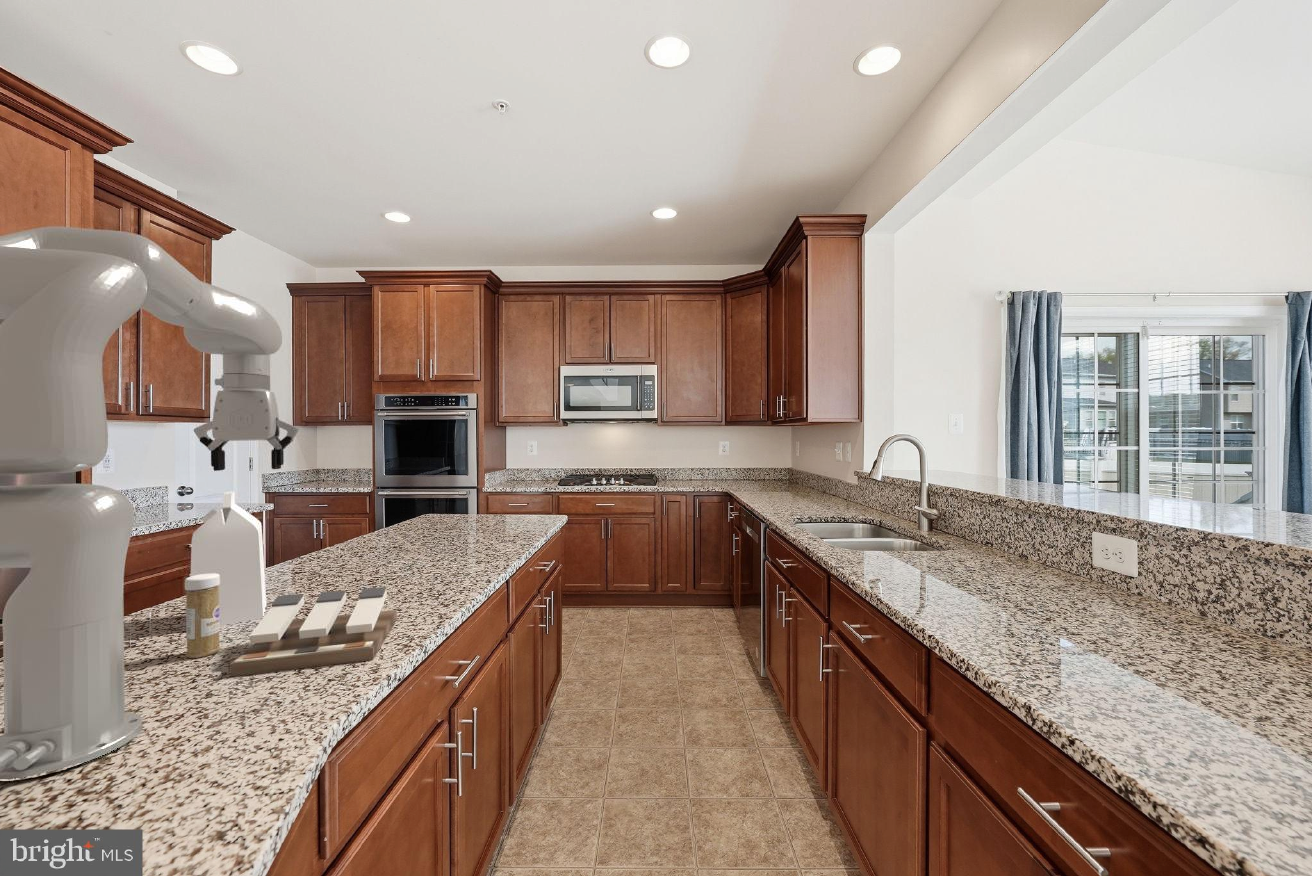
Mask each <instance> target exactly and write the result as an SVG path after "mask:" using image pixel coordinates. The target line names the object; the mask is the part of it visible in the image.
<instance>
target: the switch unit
mask: <svg viewBox="0 0 1312 876" xmlns="http://www.w3.org/2000/svg"><path fill="white" fill-rule="evenodd" d="M351 615H352V613H351V614H338V616H337V618H336V620H335V621H334V623H333V625H332V627H331V629H330V631H329V633H328V635H327V636H322V637H312V638H302V639H300V637H299V630H300V628H301V626H302V625H303V623H304V622H305V620H306V619H307V617H306V618H298V619H295V618H294V619H293V621H292V622H291V624H290V625H289V627H288V628H287V630H286V631H285V633H284V634H283V636H282V637H281V639H280V640H279V641H273V642H264V643H254V644H251V646H250V647H249V648H247V649H246V650H245V651H244V652H243V653H241V654H240V655H239V656H238V657H236V658H235V659H234V660H232V662H230V663H229V677H237V676H245V675H254V674H263V673H272V672H280V671H281V672H282V671H289V670H297V669H306V668H314V667H322V666H323V667H324V666H331V665H341V664H349V663H355V662H356V663H358V662H365V661H374V659H375V657H376V655H377V654H378V652H379V650H380V649H381V647H382V646H383V644H384V642H385V640H386V639H387V637H388V636H389V634H390V632H391V630H392V629H393V627H394V626H395V624H396V622H397V621H398V610H397V609H393V610H391V609H390V610H383V611H382V610H381V611H380V614H379V616H378V619H377V621H376V624H375V626H374V629H373V631H370V632H361V633H351V634H347V633H346V625H347V623H348V621H349V619H350V617H351Z"/></svg>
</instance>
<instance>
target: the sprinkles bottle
mask: <svg viewBox="0 0 1312 876" xmlns="http://www.w3.org/2000/svg"><path fill="white" fill-rule="evenodd" d="M219 584H220V575H219V574H216V573H209V574H200V575H195V576H191V575H190V576H189V577H186V578H185V579H184V590H185V592H186V593H185V595H186V599H185V600H186V604H185V605H186V606H185V629H186V630H185V632H186V633H185V636H186V637H185V638H186V654H185V657H187V658H189V659H196V658H205V657H208V656H211V655H214V654H216V653H217V652H219V651H220V650H221V645H220V629H221V628H220V627H221V626H220V618H219V592H218V591H219V590H218V588H219Z"/></svg>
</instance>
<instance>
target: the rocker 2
mask: <svg viewBox="0 0 1312 876" xmlns="http://www.w3.org/2000/svg"><path fill="white" fill-rule="evenodd" d="M387 596H388V593H387V587H386V586H384V587H383V586H382V587H372V588H370V587H368V588H362V590H361V592H360V594H359V596H358V601H357V602H356V604H355V606H354V609H353V611H352V613H351V614H352V615H351V617H350V619H349V621H348V623H347V625H346V633H347V634H351V633H361V632H370V631H373V629H374V626H375V624H376V621H377V619H378V616H379V614H380V611H382V608H383V606H384V603H385V601H386V599H387Z"/></svg>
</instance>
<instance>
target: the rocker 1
mask: <svg viewBox="0 0 1312 876" xmlns="http://www.w3.org/2000/svg"><path fill="white" fill-rule="evenodd" d="M304 604H305V596H304V593H298V594H297V593H295V594H285V595H283V594H282V595H278V596H276V598H275V599H274V601H273V602H272V604H271V607H270V609H269V610H268V611H267V612H266V614H264V617H263V619H262V620H259V623H258V624H257V625H256V627H255V628H254V630H253V631H252V632H251V633H250V635H249V642H250V644H251V645H253V644H255V643H264V642H273V641H279V640H280V639H281V637H282V636H283V634H284V633H285V631H286V630H287V628H288V627H289V625H290V624H291V622H292V621H293V620H295V617H296V616H297V614H298V613H299V611H300V610H301V608H302V607H303V605H304Z"/></svg>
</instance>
